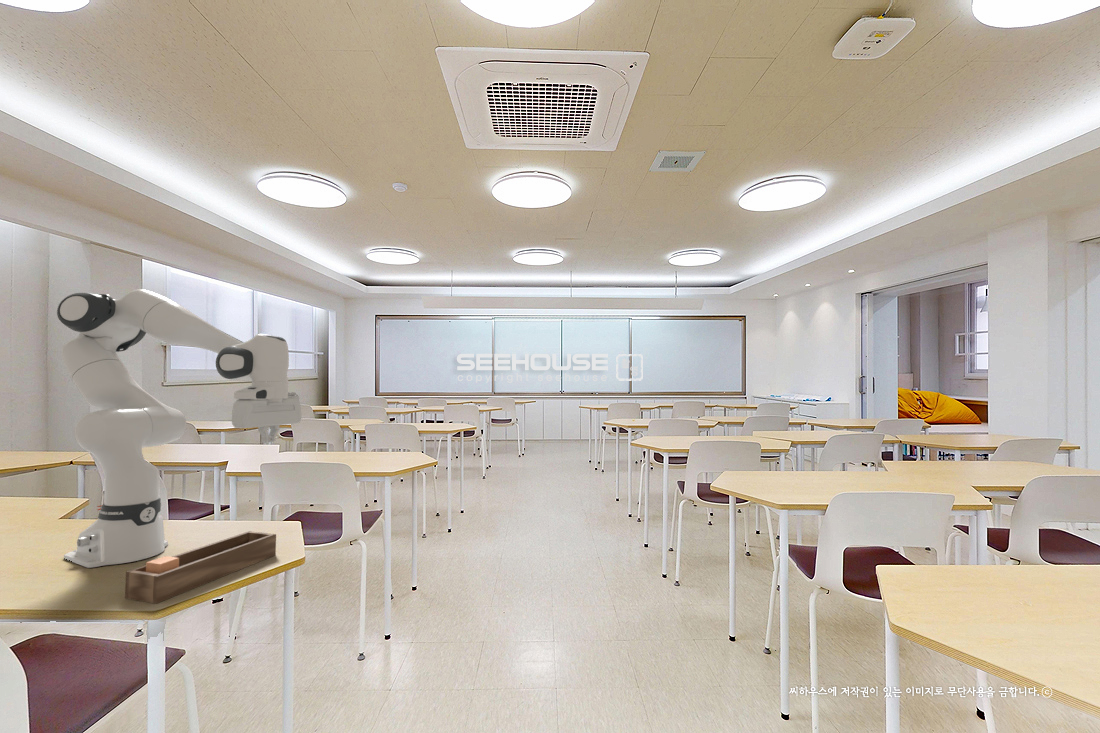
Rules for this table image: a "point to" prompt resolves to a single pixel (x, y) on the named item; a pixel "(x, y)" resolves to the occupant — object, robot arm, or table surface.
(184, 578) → the box
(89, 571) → the table surface
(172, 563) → the block
